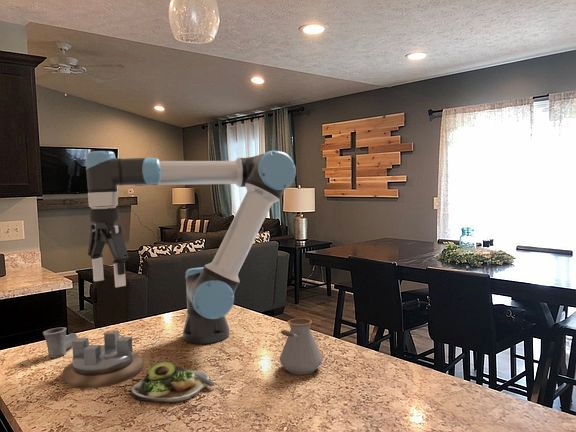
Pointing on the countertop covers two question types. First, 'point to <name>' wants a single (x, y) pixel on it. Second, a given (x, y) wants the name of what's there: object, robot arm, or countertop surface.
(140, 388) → the salad plate
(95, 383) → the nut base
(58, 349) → the pipe
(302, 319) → the coffee pot
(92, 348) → the four-tab metal disc
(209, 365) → the countertop surface
